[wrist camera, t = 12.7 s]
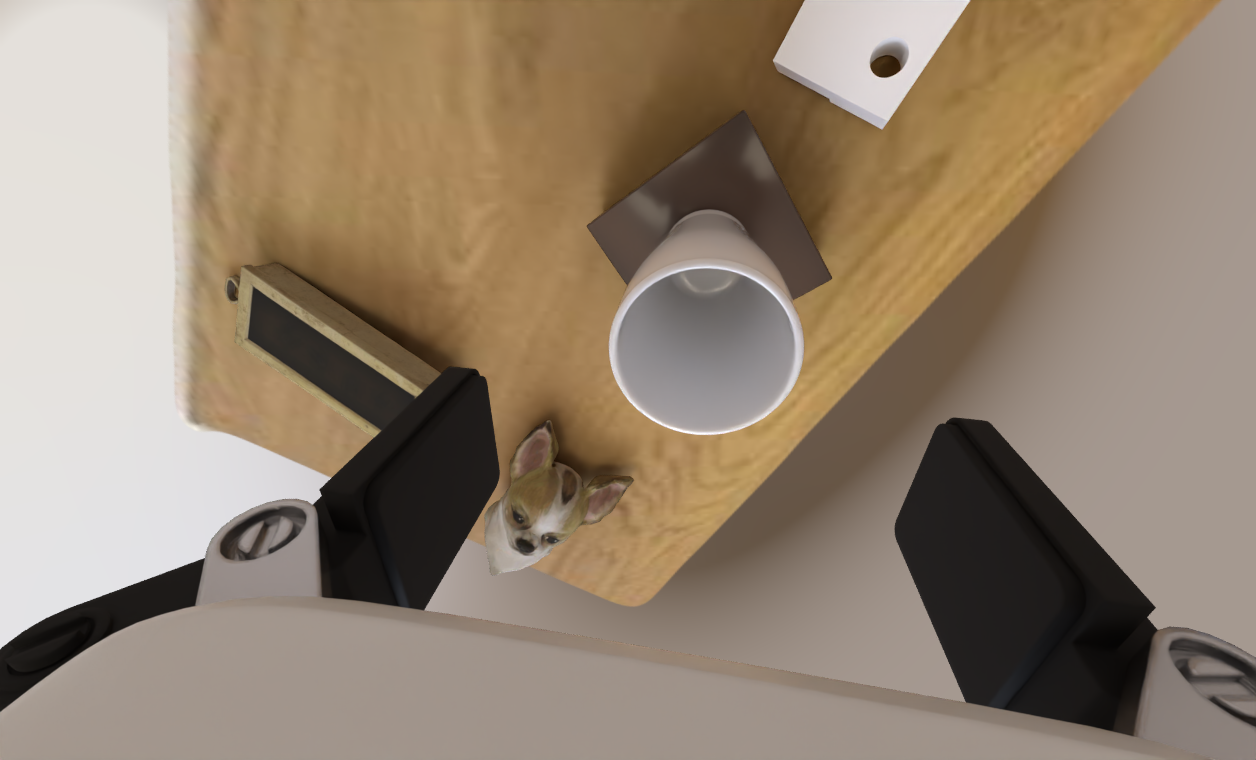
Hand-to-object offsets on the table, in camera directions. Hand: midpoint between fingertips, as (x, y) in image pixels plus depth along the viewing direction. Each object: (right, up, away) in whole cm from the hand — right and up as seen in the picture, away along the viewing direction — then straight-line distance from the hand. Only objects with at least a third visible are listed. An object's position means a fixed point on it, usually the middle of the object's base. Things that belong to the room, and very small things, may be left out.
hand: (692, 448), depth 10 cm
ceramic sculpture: (-9, -8, +37) cm, 39 cm away
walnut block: (+4, +12, +23) cm, 26 cm away
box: (-26, +5, +32) cm, 42 cm away
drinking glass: (+4, +9, +19) cm, 22 cm away
